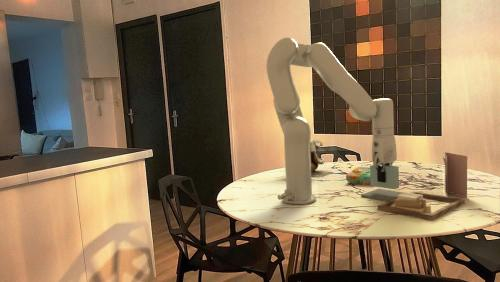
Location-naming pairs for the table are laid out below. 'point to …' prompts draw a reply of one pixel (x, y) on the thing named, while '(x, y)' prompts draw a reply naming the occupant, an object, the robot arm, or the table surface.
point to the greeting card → (455, 174)
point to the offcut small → (410, 197)
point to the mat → (382, 194)
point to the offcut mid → (410, 204)
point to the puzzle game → (359, 176)
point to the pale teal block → (391, 177)
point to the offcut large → (424, 210)
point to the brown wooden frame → (432, 216)
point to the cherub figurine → (316, 160)
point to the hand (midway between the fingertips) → (384, 180)
